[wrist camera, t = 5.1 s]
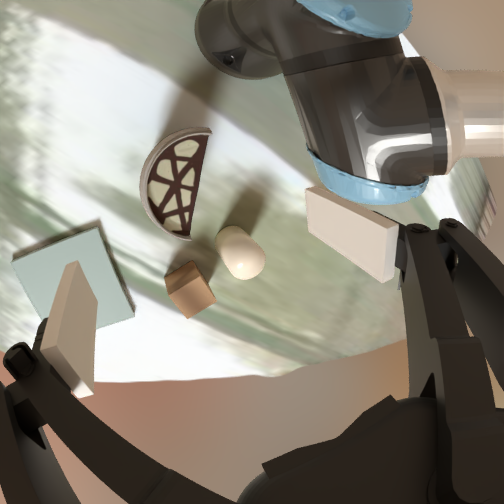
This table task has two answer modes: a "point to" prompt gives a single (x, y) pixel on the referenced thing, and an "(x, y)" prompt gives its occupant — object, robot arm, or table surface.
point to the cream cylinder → (240, 252)
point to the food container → (174, 180)
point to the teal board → (93, 265)
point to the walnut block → (189, 290)
